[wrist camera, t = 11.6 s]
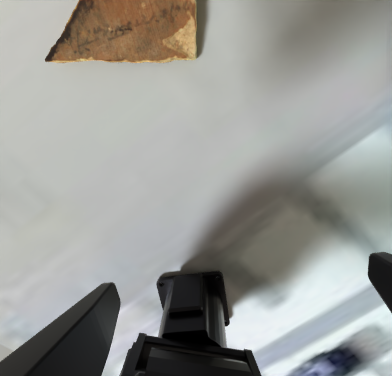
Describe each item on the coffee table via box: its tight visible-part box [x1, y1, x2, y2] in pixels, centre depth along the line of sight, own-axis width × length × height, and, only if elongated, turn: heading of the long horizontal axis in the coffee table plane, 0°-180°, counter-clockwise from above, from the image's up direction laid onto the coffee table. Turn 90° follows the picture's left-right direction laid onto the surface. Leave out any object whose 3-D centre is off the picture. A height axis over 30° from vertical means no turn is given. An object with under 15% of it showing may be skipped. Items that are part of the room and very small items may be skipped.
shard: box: [45, 0, 197, 63], centre depth 15 cm, size 11×8×2 cm
